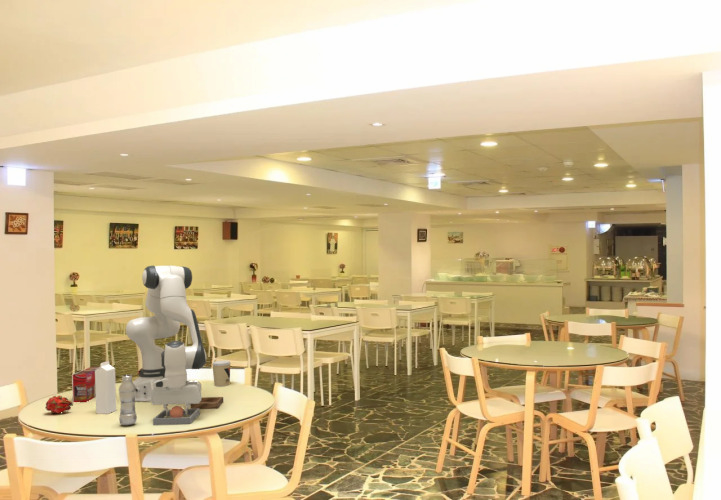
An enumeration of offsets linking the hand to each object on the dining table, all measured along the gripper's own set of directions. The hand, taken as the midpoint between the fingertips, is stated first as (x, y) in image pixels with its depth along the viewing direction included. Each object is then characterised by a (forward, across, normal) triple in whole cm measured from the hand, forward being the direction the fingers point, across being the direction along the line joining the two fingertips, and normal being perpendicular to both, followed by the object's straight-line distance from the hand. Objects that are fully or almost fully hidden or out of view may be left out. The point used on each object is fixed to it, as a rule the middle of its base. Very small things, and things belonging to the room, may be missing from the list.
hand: (177, 414), depth 261 cm
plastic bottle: (+2, +18, +6) cm, 19 cm away
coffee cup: (+2, -4, -68) cm, 68 cm away
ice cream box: (+2, +57, -48) cm, 75 cm away
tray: (+2, -7, -23) cm, 24 cm away
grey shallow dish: (+2, 0, 0) cm, 2 cm away
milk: (+2, +36, -17) cm, 40 cm away
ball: (-1, 0, 0) cm, 1 cm away
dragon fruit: (+2, +57, -18) cm, 60 cm away
